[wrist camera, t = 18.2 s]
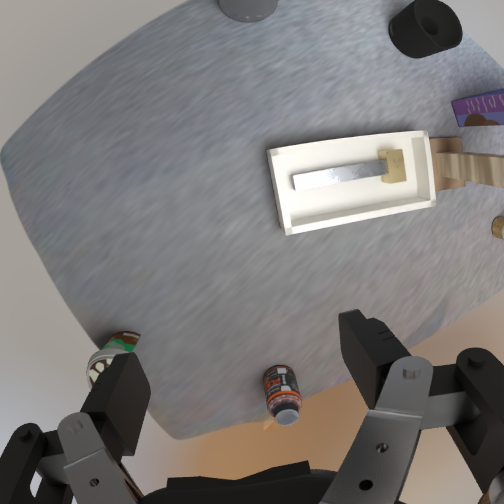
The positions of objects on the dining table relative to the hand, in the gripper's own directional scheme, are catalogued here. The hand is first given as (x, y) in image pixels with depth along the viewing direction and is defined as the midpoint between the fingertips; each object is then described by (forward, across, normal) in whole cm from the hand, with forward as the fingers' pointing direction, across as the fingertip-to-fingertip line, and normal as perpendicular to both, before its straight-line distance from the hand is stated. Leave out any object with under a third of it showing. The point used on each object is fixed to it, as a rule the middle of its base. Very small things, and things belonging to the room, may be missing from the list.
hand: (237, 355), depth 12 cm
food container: (+38, +26, +20) cm, 50 cm away
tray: (+38, -19, -1) cm, 43 cm away
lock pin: (+37, -17, -2) cm, 41 cm away
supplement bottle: (+38, -2, +32) cm, 50 cm away
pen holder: (+38, -36, -25) cm, 58 cm away
